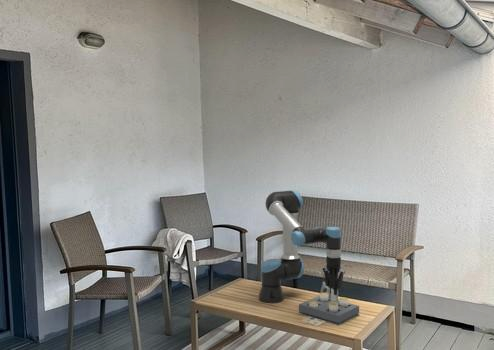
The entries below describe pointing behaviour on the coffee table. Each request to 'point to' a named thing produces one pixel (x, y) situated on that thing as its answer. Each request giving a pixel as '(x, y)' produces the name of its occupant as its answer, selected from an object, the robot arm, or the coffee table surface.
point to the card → (314, 321)
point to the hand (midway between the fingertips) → (333, 300)
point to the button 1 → (313, 304)
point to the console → (323, 311)
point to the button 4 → (343, 302)
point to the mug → (327, 290)
